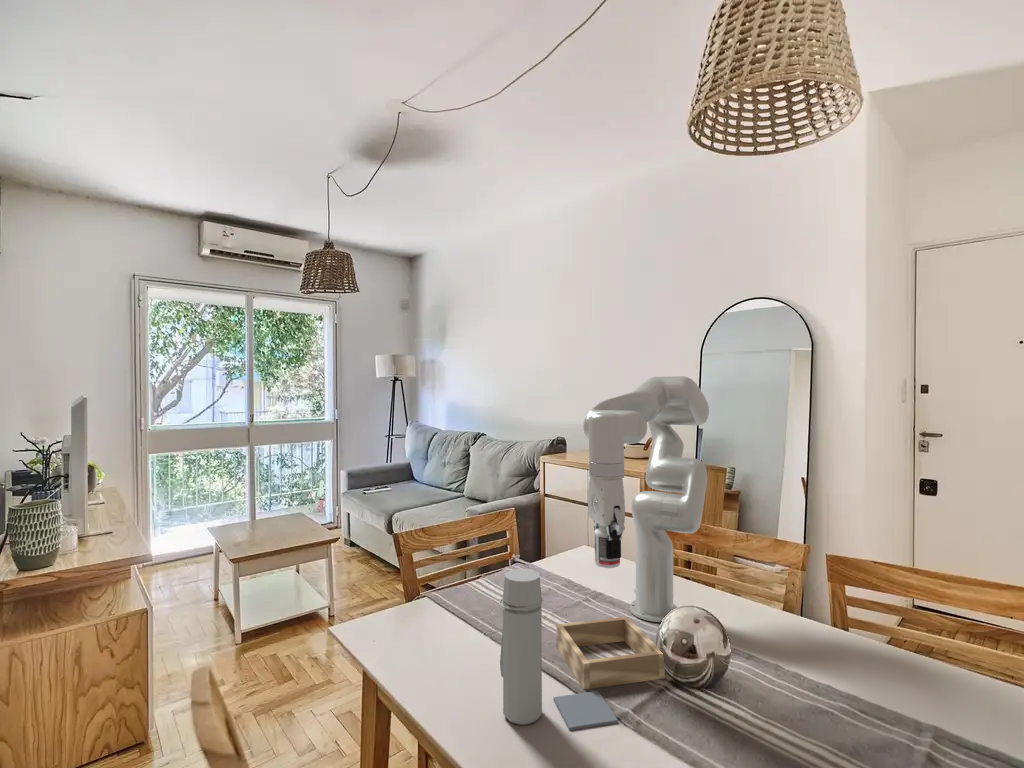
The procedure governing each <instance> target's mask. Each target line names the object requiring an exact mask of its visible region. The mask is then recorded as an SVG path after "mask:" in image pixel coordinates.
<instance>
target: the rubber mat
mask: <svg viewBox="0 0 1024 768" xmlns="http://www.w3.org/2000/svg"><path fill="white" fill-rule="evenodd" d="M553 702H554V704H555V706H556V708H557V710H558V712H559V713H560V715H561V717H562V719H563V721H564V723H565V725H566V727H567V729H568V731H574V730H580V729H587V728H593V727H600V726H606V725H611V724H618V723H619V720H618V718H617V717H616V715H615V713H614V712H613V711H612V709H611V708H610V706H609V704H607V701H606V700H605V699H604V697H603V695H602V694H601V693H600V691H599V690H593V691H588V692H580V693H573V694H567V695H559V696H553Z"/></svg>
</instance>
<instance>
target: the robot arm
mask: <svg viewBox="0 0 1024 768" xmlns="http://www.w3.org/2000/svg"><path fill="white" fill-rule="evenodd" d="M709 408H710V407H709V402H708V400H707V398H706V396H705V395H704V393H703V391H702V390H701V388H700V386H698V384H697V383H696V382H695V380H693V379H692V378H690V377H687V376H682V375H681V376H677V375H676V376H654V377H650V378H648V379H646V380H645V381H644V382H643V383H642V384H640V385H639V386H638V387H637V388H636V389H634V390H633V391H631V392H627V393H624V394H621V395H618V396H615V397H610V398H608V399H605V400H603V401H601V402H599V403H597V404H596V405H595V406H593V407H592V408H591V409H590V410H589V411H588V412H587V414H586V416H585V417H584V419H583V431H584V434H585V436H586V438H587V439H588V476H589V482H588V494H587V495H588V496H587V515H588V517H589V518H590V519H591V520H592V521H593V522H594V523H593V530H594V531H595V530H596V529H597V528H599V526H598V524H600V525H601V526H603V527H606V531H607V538H608V539H607V540H606V558H607V559H617V558H620V559H621V557H622V538H623V536H622V535H623V533H624V531H625V530H626V527H625V520H626V504H625V503H626V502H625V489H624V481H623V479H624V478H625V444H626V445H628V444H629V445H633V444H637V443H640V442H641V441H643V439H645V436H646V434H647V431H648V427H649V430H650V434H651V437H652V439H651V440H652V442H651V447H650V448H651V449H650V453H649V456H648V461H647V466H646V469H645V483H646V485H647V486H648V487H649V488H650V489H653V490H644V491H640V492H638V493H636V494H635V495H634V496H633V499H632V501H631V514H632V520H633V526H634V535H635V587H634V589H633V592H634V593H635V600H633V601H632V602H631V603H630V604H629V605H630V606H629V611H630V612H631V614H633V616H635V617H637V618H639V619H641V620H644V621H648V622H652V623H653V622H654V623H662V622H661V621H662V619H663V618H664V617H665V616H666V615H667V614H668V613H669V612H670V611H671V610H673V609H675V608H677V607H678V606H677V605H676V604H674V546H673V542H672V540H671V538H670V536H669V535H668V533H667V531H668V532H674V533H680V534H682V533H683V534H694V533H696V532H697V531H698V530H699V528H700V525H701V522H702V517H703V511H704V506H705V505H704V504H705V499H706V493H707V489H708V488H707V486H708V471H707V467H706V465H705V462H703V461H701V460H700V459H698V458H695V457H693V458H692V457H683V453H684V448H685V445H684V442H683V440H682V438H681V437H680V435H679V434H678V432H676V431H675V430H674V428H673V427H672V426H673V425H674V426H693V427H695V426H696V427H697V426H703V425H704V424H705V423H706V422H707V420H708V418H709V414H710V409H709ZM647 423H648V424H647ZM655 490H656V491H655ZM611 522H615V524H613V525H610V523H611ZM611 528H615V529H614V530H613V531H612V533H611Z"/></svg>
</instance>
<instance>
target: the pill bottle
mask: <svg viewBox="0 0 1024 768" xmlns="http://www.w3.org/2000/svg"><path fill="white" fill-rule="evenodd" d="M613 524H615V522H611V523H610V525H613ZM598 526H599V528H597V529H596V530H594V563H595V565H596V566H597V567H600V568H605V569H614V568H618V567H619V566H621V558H617V559H607V558H606V540H607V539H608V538H607V531H606V527H603V526H601V525H600V524H598ZM615 528H616V527H615ZM615 528H611V533H612V531H613V530H614V529H615Z"/></svg>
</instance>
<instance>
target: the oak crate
mask: <svg viewBox="0 0 1024 768" xmlns="http://www.w3.org/2000/svg"><path fill="white" fill-rule="evenodd" d="M555 626H556V627H555V628H556V629H555V630H556V633H555V634H556V637H555V639H556V641H555V642H556V643H555V645H556V646H555V647H556V648H557V650H558V652H559V653H560V655H561V656H562V658H563V660H564V661H565V663H566V664H567V666H568V667H569V668H570V671H571V672H572V674H573V675H574V677H575V678H576V680H577V681H578V682H579V684H580V686H581V688H582V689H583V690H590V689H599V688H605V687H612V686H618V685H627V684H634V683H639V682H646V681H647V682H648V681H655V680H664V679H666V675H665V674H666V673H665V669H666V666H665V665H666V663H664V657H663V653H662V652H661V651H660V650H659V649H658V648H659V647H658V645H656V644H655V642H654V641H652V640H651V639H650V638H649V637H648V635H647V634H646V633H644V632H643V631H642V630H641V629H640V628H639V627H638V626H637V625H636V624H635V623H634V622H633V621H631V619H630V618H629V617H627V616H621V617H613V618H605V619H603V618H602V619H595V620H594V619H593V620H586V621H585V620H584V621H575V622H568V623H557V624H555ZM619 642H621V643H622V642H624V643H625V644H626V645H627V646H628V647H630V649H631V650H632V651H633V652H634V653H633V654H632V653H630V654H625V655H623V654H622V655H615V656H609V657H600V658H593V659H587V657H586V656H585V654H584V653H583V651H582V650H581V649H580V648H581V647H584V646H585V647H587V646H595V645H603V644H612V643H619Z"/></svg>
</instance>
